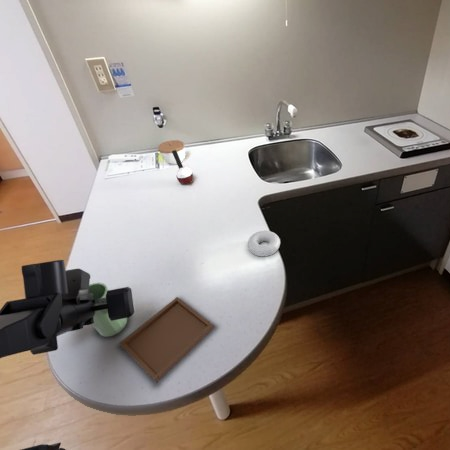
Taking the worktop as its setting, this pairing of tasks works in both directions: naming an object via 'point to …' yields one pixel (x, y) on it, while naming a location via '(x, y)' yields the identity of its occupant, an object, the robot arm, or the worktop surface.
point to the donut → (263, 249)
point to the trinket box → (170, 146)
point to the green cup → (104, 313)
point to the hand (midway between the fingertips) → (101, 303)
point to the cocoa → (182, 171)
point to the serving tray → (166, 338)
